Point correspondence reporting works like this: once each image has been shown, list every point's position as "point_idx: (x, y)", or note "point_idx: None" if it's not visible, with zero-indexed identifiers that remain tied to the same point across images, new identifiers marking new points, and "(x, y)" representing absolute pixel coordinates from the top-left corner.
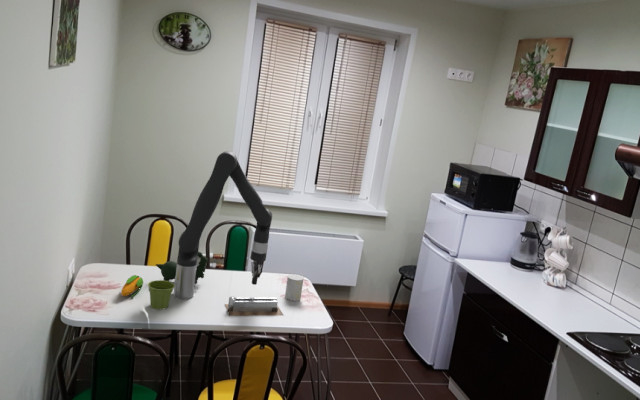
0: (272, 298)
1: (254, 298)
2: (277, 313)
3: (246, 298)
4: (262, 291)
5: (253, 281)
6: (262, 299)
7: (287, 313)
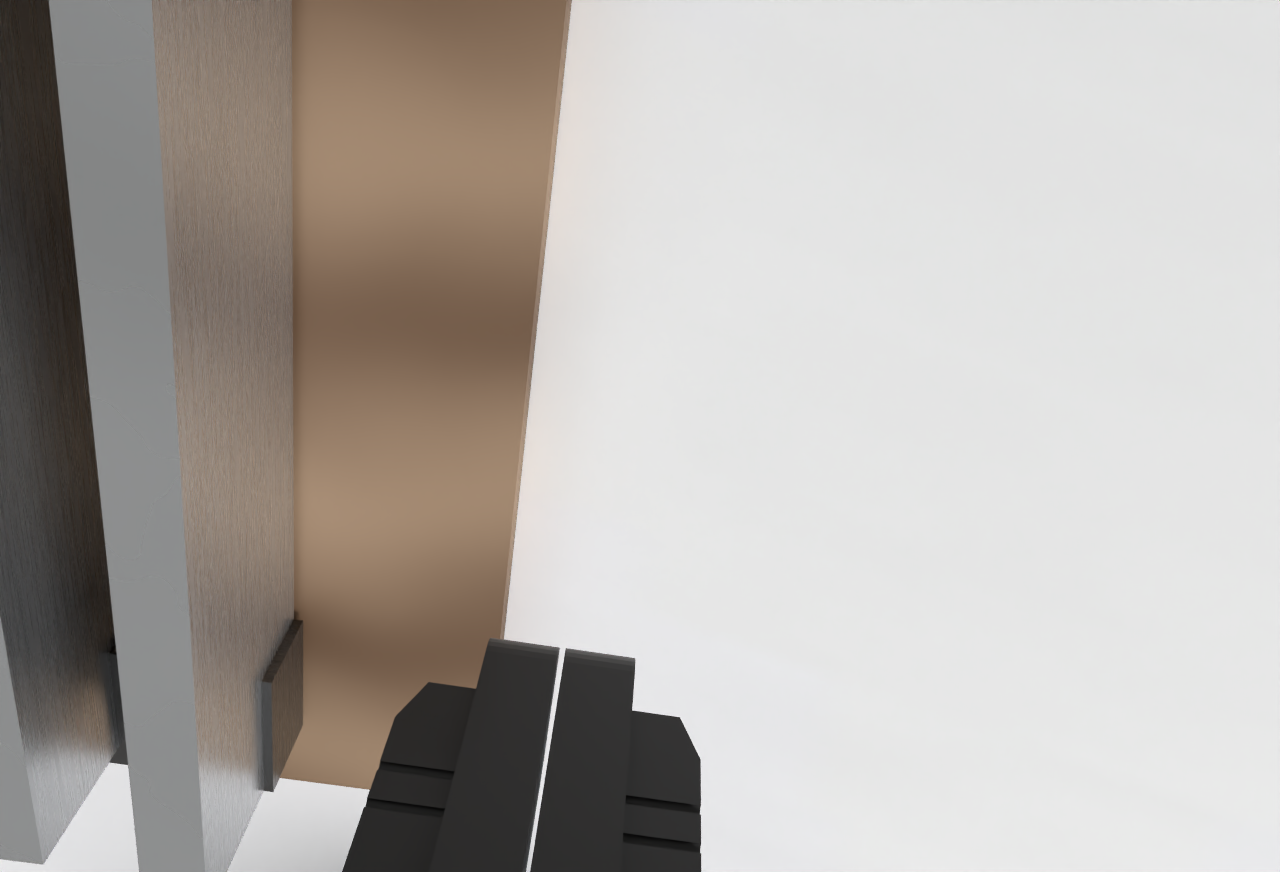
0: (153, 824)
1: (105, 367)
2: None
3: (83, 77)
4: (1258, 795)
5: (445, 771)
6: (121, 579)
7: None
